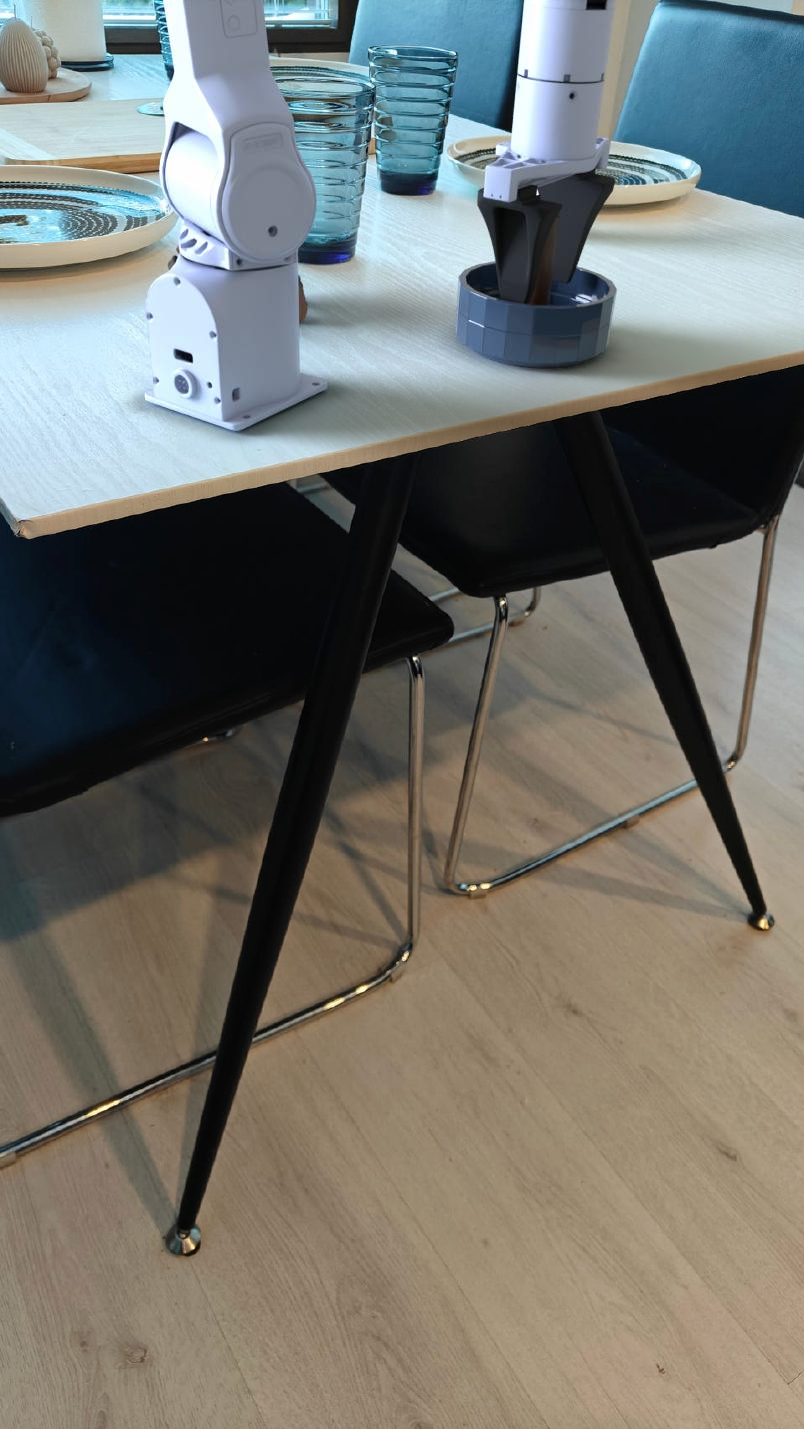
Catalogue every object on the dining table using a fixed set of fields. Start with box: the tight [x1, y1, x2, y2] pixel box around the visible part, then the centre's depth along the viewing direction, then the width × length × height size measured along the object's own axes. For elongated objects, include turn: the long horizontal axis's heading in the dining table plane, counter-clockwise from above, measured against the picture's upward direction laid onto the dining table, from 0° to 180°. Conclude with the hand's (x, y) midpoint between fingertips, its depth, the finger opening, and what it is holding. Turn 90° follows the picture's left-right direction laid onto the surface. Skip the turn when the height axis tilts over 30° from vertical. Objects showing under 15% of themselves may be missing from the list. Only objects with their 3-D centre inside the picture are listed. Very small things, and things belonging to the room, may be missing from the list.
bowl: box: [454, 260, 618, 369], centre depth 81 cm, size 11×11×4 cm
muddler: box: [527, 215, 559, 306], centre depth 79 cm, size 4×4×8 cm
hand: (536, 290), depth 80 cm, fingers open, 6 cm apart
